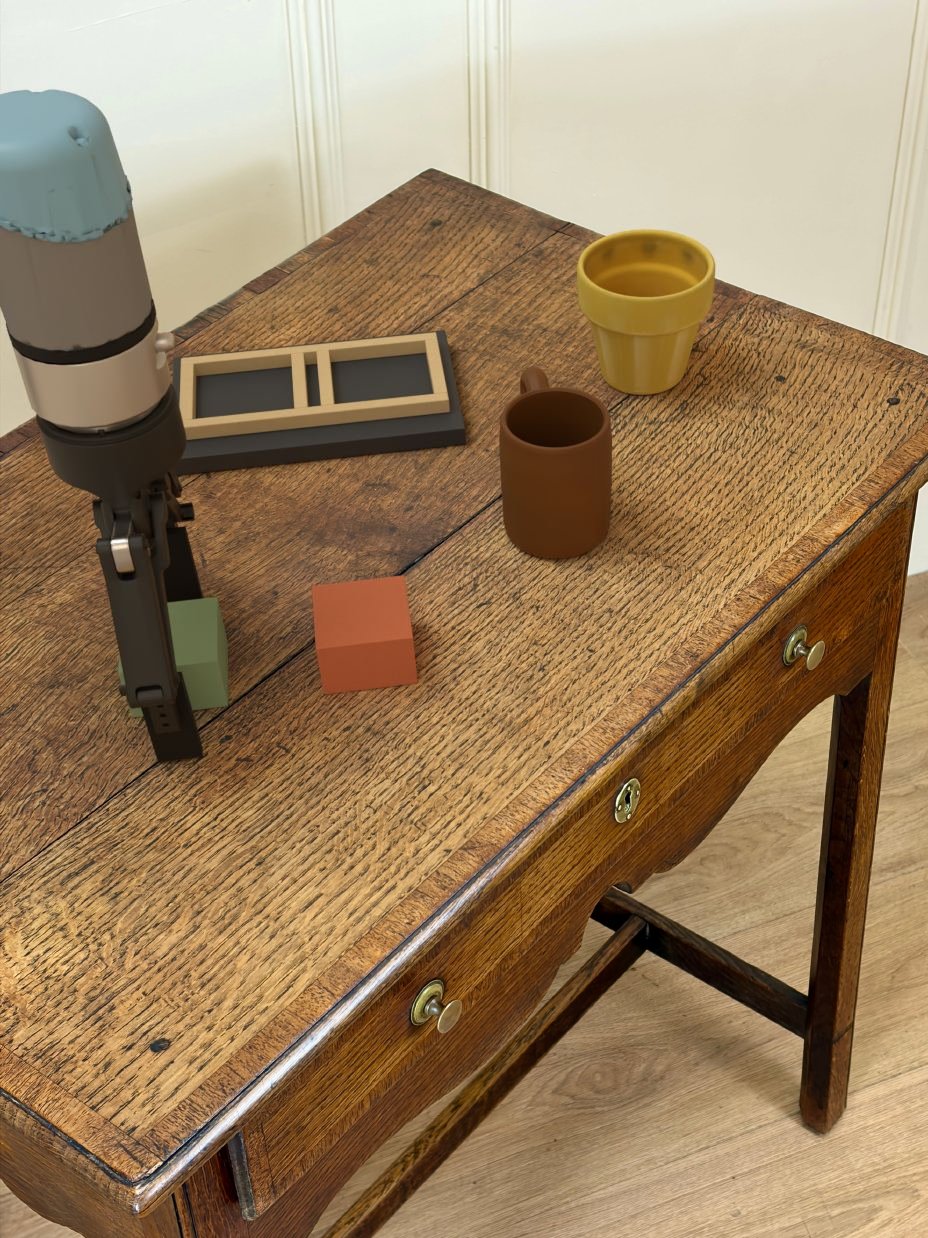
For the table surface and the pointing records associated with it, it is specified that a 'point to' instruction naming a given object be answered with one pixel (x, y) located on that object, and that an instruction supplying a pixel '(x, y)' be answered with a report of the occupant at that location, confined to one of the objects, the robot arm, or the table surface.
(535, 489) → the mug
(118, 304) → the robot arm
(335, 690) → the terracotta cube
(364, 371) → the backing plate
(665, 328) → the flower pot
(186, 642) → the green block
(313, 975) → the table surface
